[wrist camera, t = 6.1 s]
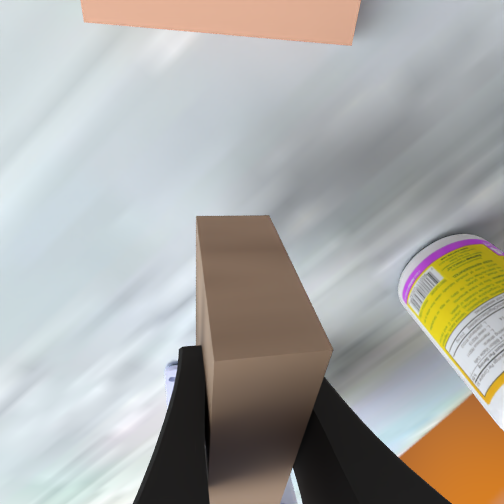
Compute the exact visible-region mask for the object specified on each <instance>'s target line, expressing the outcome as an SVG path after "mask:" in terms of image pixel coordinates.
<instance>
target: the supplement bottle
mask: <svg viewBox="0 0 504 504" xmlns="http://www.w3.org/2000/svg"><path fill="white" fill-rule="evenodd" d="M398 295H399V299H400V301H401V303H402V305H403V306H404V307H405V309H406V310H407V311H408V313H409V314H410V315H411V316H412V318H413V319H414V320H415V321H416V323H417V324H418V325H419V326H420V328H421V329H422V330H423V331H424V333H425V334H426V335H427V336H428V338H429V339H430V340H431V341H432V343H433V344H434V345H435V346H436V348H437V349H438V350H439V351H440V352H441V354H442V355H443V356H444V357H445V359H446V360H447V361H448V362H449V364H450V365H451V366H452V367H453V369H454V370H455V371H456V372H457V374H458V375H459V376H460V377H461V379H462V380H463V381H464V382H465V384H466V385H467V386H468V387H469V389H470V390H471V391H472V392H473V394H474V395H475V396H476V398H477V399H478V400H479V401H480V403H481V404H482V405H483V406H484V408H485V409H486V410H487V411H488V413H489V414H490V416H491V417H492V418H493V419H494V421H495V422H496V423H497V424H498V425H499V427H500V428H501V429H503V431H504V252H502V251H501V250H500V249H498V248H497V247H495V246H494V245H492V244H491V243H489V242H488V241H486V240H485V239H483V238H481V237H479V236H476V235H471V234H456V235H451V236H448V237H444V238H442V239H439V240H437V241H435V242H433V243H432V244H430V245H429V246H427V247H426V248H424V249H423V250H422V251H420V252H419V253H418V254H417V255H416V256H415V257H414V258H413V259H412V260H411V261H410V262H409V263H408V264H407V266H406V267H405V269H404V271H403V272H402V274H401V277H400V280H399V284H398Z"/></svg>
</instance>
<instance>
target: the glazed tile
mask: <svg viewBox="0 0 504 504" xmlns="http://www.w3.org/2000/svg"><path fill="white" fill-rule="evenodd" d="M360 3H361V0H81V6H82V12H83V18H84V22H88V23H100V24H111V25H122V26H134V27H145V28H156V29H168V30H179V31H190V32H202V33H213V34H224V35H236V36H247V37H258V38H270V39H281V40H292V41H304V42H315V43H326V44H338V45H349V46H352V41H353V36H354V31H355V27H356V22H357V17H358V12H359V8H360Z"/></svg>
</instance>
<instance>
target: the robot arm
mask: <svg viewBox="0 0 504 504" xmlns="http://www.w3.org/2000/svg"><path fill="white" fill-rule="evenodd" d="M165 386H166V399H167V413H166V416H165V420H164V423H163V426H162V429H161V432H160V435H159V438H158V440H157V443H156V446H155V449H154V452H153V455H152V457H151V460H150V463H149V465H148V468H147V471H146V473H145V476H144V478H143V481H142V483H141V486H140V488H139V490H138V493H137V495H136V498H135V500H134V502H133V504H210V500H209V490H208V479H207V468H206V457H205V371H204V362H203V354H202V346H201V345H197V346H186V347H182V348H180V349H179V358H178V365H173V366H169V367H167V368H166V369H165ZM293 469H294V473H295V476H296V479H297V483H298V487H299V490H300V494H301V498H302V503H303V504H452V503H450V502H449V501H448V500H447V499H445V498H444V497H443V496H442V495H440V494H439V493H438V492H437V491H436V490H435V489H434V488H432V487H431V486H430V485H429V484H427V482H425V481H424V480H423V479H422V478H421V477H420V476H418V475H417V474H416V473H415V472H414V471H413V470H411V469H410V468H409V467H408V466H407V465H406V464H405V463H404V462H403V461H402V460H400V458H398V457H397V456H396V455H395V454H394V453H393V452H392V451H391V450H390V449H389V448H388V447H387V446H386V445H385V444H384V443H383V442H382V441H381V440H380V439H379V438H378V437H377V436H376V435H375V434H374V433H373V432H372V431H371V430H370V429H369V428H368V427H367V426H366V425H365V424H364V423H363V421H362V420H361V419H360V418H359V417H358V416H357V415H356V414H355V413H354V412H353V410H352V409H351V408H350V407H349V406H348V405H347V404H346V402H345V401H344V400H343V399H342V398H341V397H340V395H339V394H338V393H337V392H336V390H335V389H334V388H333V387H332V386H331V384H330V383H329V382H328V381H327V379H326V378H325V377H324V378H323V381H322V383H321V386H320V389H319V392H318V395H317V398H316V401H315V404H314V407H313V409H312V412H311V415H310V418H309V421H308V424H307V427H306V430H305V433H304V436H303V438H302V441H301V444H300V447H299V450H298V453H297V456H296V459H295V462H294V464H293ZM280 504H298V503H297V499H296V495H295V492H294V488H293V484H292V480H291V476H289V479H288V482H287V485H286V488H285V490H284V493H283V496H282V499H281V502H280Z"/></svg>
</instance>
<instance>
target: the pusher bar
mask: <svg viewBox="0 0 504 504" xmlns="http://www.w3.org/2000/svg"><path fill="white" fill-rule="evenodd" d="M197 345H201V346H202V354H203V362H204V371H205V457H206V468H207V479H208V490H209V500H210V504H280V502H281V499H282V496H283V493H284V490H285V488H286V485H287V482H288V479H289V476H290V473H291V470H292V467H293V464H294V462H295V459H296V456H297V453H298V450H299V447H300V444H301V441H302V438H303V436H304V433H305V430H306V427H307V424H308V421H309V418H310V415H311V412H312V409H313V407H314V404H315V401H316V398H317V395H318V392H319V389H320V386H321V383H322V381H323V378H324V375H325V372H326V369H327V366H328V363H329V360H330V357H331V355H332V352H333V348H332V346H331V344H330V342H329V340H328V338H327V335H326V333H325V331H324V329H323V327H322V325H321V323H320V321H319V319H318V317H317V315H316V312H315V310H314V308H313V306H312V304H311V302H310V300H309V298H308V296H307V294H306V292H305V290H304V287H303V285H302V283H301V281H300V279H299V277H298V275H297V273H296V271H295V269H294V267H293V264H292V262H291V260H290V258H289V256H288V254H287V252H286V250H285V248H284V246H283V244H282V241H281V239H280V237H279V235H278V233H277V231H276V229H275V227H274V225H273V223H272V221H271V218H270V216H269V215H264V216H196V346H197Z"/></svg>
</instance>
